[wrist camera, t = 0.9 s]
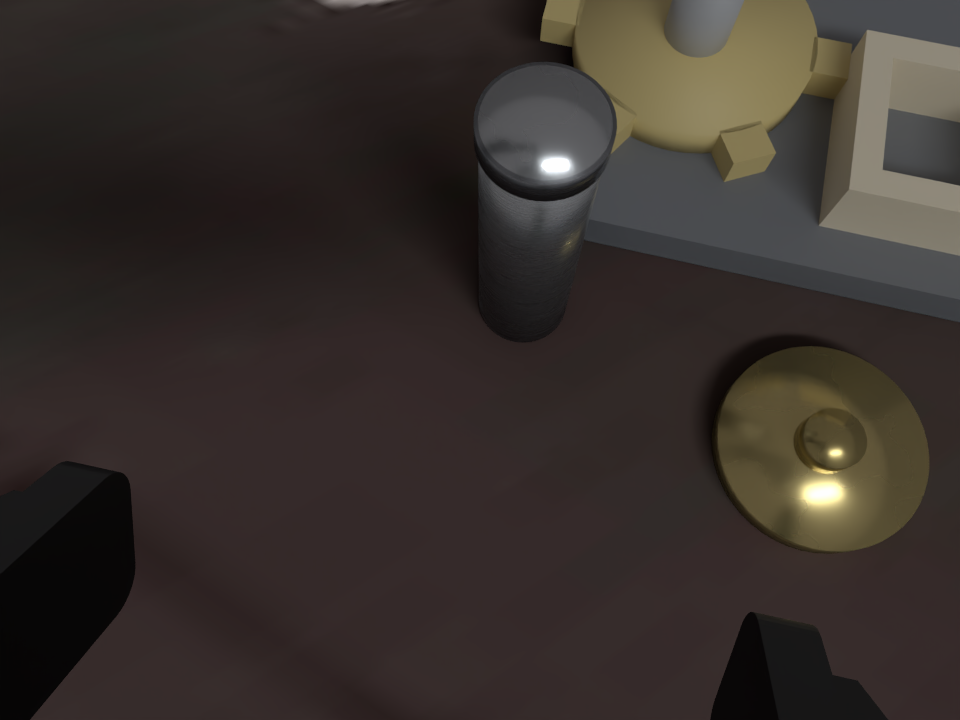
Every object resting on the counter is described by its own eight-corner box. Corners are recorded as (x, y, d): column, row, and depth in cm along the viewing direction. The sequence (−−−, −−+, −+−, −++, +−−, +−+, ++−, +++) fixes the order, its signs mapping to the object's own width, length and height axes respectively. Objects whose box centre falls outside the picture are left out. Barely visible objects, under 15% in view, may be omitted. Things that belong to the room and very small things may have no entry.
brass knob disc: (721, 557, 27) (741, 550, 25) (698, 359, 29) (715, 338, 27) (929, 552, 27) (966, 545, 25) (890, 355, 29) (922, 334, 27)
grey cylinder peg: (466, 333, 29) (458, 166, 19) (488, 250, 30) (492, 49, 20) (557, 354, 29) (601, 197, 18) (577, 270, 30) (628, 77, 19)
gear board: (496, 220, 30) (499, 134, 25) (571, -59, 35) (587, -183, 30) (1026, 336, 29) (1148, 270, 24) (1035, 29, 33) (1140, -84, 28)
